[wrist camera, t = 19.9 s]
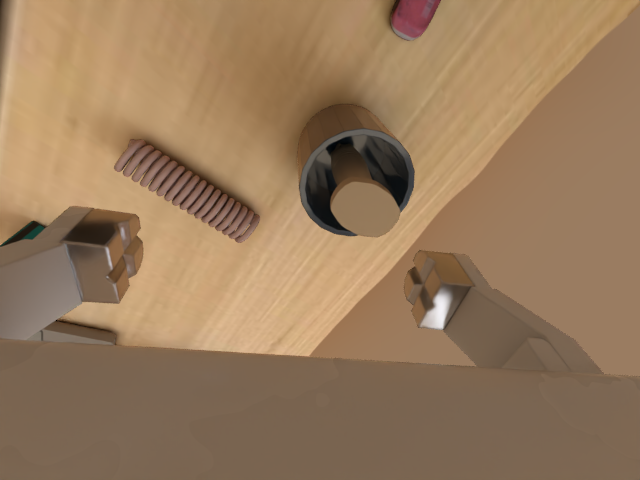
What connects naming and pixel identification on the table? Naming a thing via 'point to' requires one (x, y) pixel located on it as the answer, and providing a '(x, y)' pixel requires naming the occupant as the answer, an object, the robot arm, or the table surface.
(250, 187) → the table surface
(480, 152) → the table surface
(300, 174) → the open cylindrical bucket
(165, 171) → the coil
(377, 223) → the handle
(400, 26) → the eraser
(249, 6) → the table surface
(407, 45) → the table surface
